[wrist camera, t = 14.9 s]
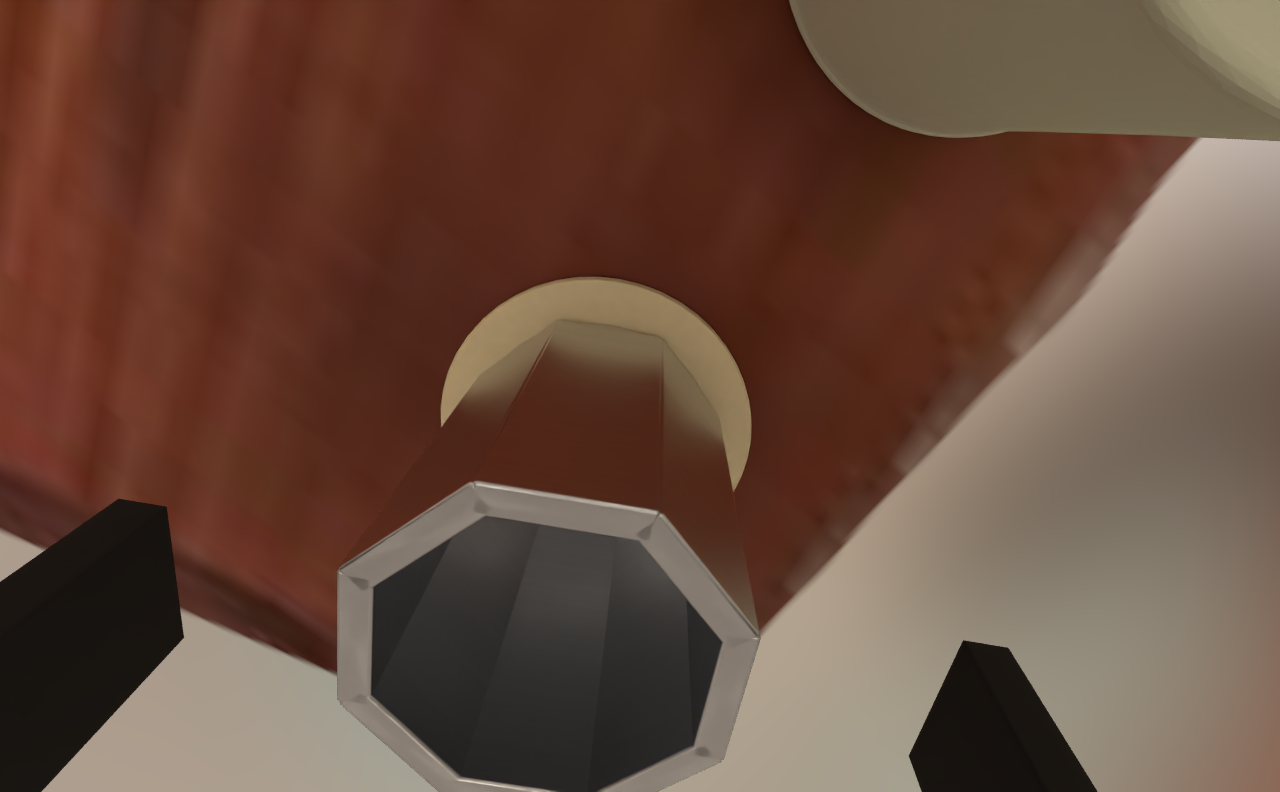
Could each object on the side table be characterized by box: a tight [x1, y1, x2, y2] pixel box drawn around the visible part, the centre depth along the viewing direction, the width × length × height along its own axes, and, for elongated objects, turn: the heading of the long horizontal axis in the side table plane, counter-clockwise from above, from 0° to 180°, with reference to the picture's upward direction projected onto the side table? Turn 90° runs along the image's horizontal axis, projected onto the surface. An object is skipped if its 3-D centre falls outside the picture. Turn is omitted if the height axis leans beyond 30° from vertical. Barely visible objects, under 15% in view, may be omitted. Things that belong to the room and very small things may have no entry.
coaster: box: [441, 277, 752, 492], centre depth 20 cm, size 9×9×1 cm
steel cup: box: [337, 320, 761, 792], centre depth 15 cm, size 7×7×9 cm
